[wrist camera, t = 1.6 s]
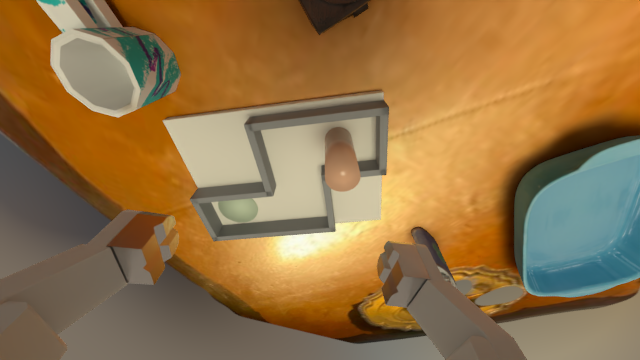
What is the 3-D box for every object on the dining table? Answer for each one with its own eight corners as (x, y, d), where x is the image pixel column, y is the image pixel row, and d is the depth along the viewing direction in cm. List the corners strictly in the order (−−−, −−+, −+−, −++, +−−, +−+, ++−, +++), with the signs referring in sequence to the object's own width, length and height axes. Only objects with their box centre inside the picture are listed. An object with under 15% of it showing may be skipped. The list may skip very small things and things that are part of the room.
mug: (144, 104, 33) (97, 125, 26) (68, 4, 27) (-21, -2, 20) (193, 83, 31) (156, 101, 25) (123, -28, 25) (48, -46, 18)
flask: (408, 230, 47) (428, 279, 38) (421, 223, 46) (445, 272, 37) (428, 253, 51) (451, 302, 42) (441, 247, 50) (467, 297, 41)
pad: (251, 190, 40) (251, 191, 40) (262, 219, 44) (262, 220, 44) (212, 193, 40) (212, 195, 40) (226, 222, 44) (226, 223, 44)
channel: (381, 90, 32) (389, 98, 28) (379, 215, 44) (384, 231, 41) (167, 117, 34) (149, 128, 31) (223, 228, 47) (215, 244, 43)
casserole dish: (496, 151, 37) (529, 176, 31) (678, 90, 31) (761, 107, 25) (501, 277, 56) (522, 307, 50) (615, 253, 50) (654, 284, 44)
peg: (351, 125, 33) (360, 160, 25) (352, 150, 35) (361, 189, 27) (323, 128, 33) (322, 164, 25) (326, 153, 36) (327, 193, 27)
